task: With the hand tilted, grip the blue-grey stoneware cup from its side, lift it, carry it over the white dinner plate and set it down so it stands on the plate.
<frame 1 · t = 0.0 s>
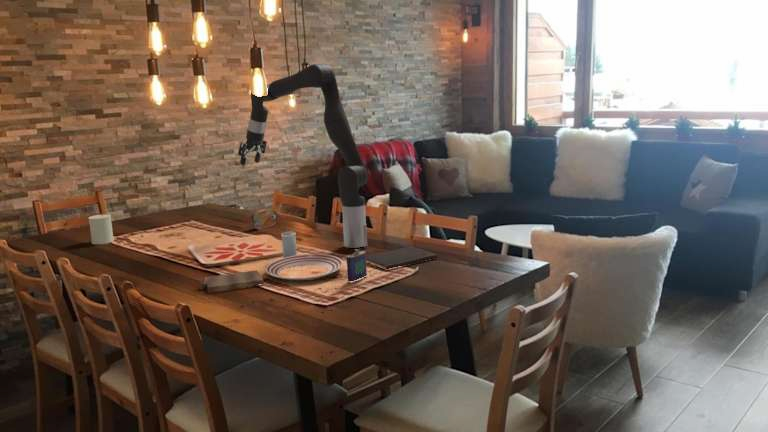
hand: (249, 163, 289), 31 cm above the table, tool tilted 20°, fingers open, 8 cm apart
can: (103, 242, 288), on the table
dinner plate: (305, 273, 231), on the table
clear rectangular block: (264, 228, 304), on the table
stoneware cup: (290, 258, 250), on the table
hardcover book: (399, 262, 242), on the table
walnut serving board: (233, 284, 221), on the table
flask: (357, 280, 221), on the table
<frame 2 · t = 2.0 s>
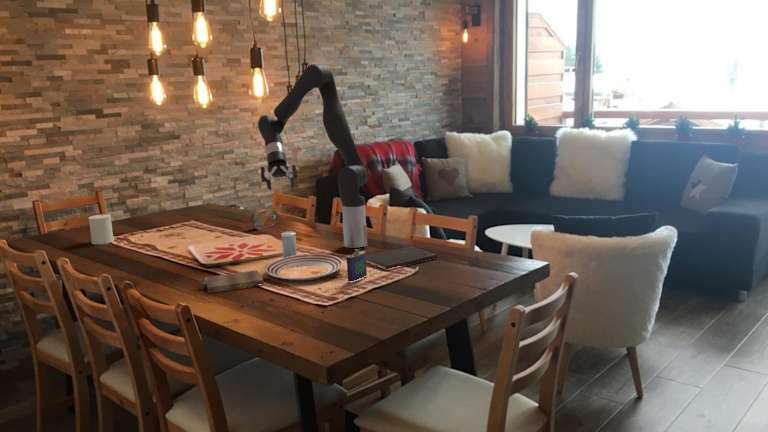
hand: (281, 188, 255), 26 cm above the table, tool tilted 45°, fingers open, 8 cm apart
nothing on the table moved.
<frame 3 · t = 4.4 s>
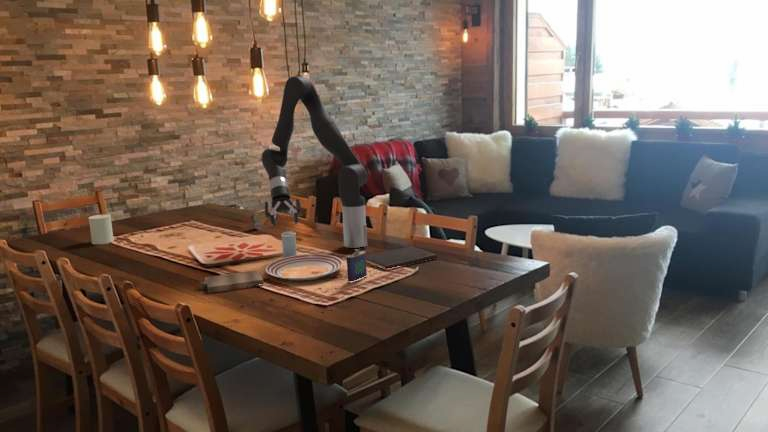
hand: (285, 223, 255), 12 cm above the table, tool tilted 45°, fingers open, 8 cm apart
nothing on the table moved.
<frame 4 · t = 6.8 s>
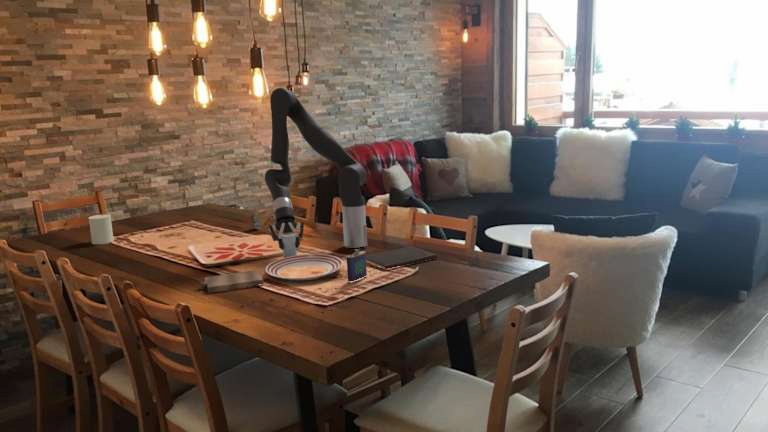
hand: (290, 247, 247), 5 cm above the table, tool tilted 45°, fingers closed on stoneware cup, 5 cm apart
stoneware cup: (290, 258, 250), on the table, touching gripper
everything else where it was.
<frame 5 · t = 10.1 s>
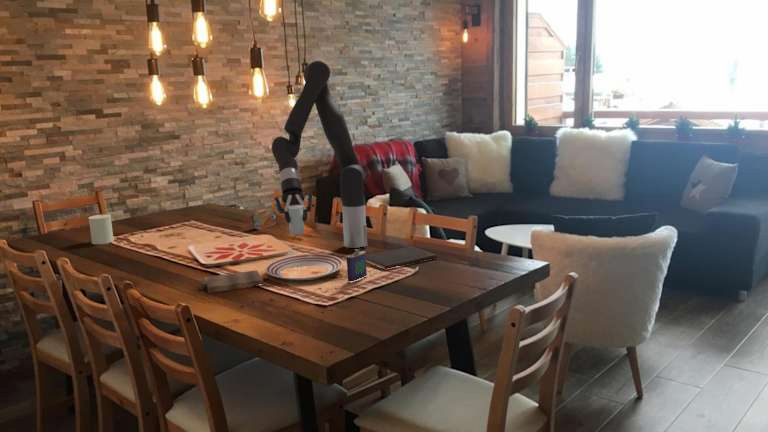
hand: (297, 221, 230), 18 cm above the table, tool tilted 45°, fingers closed on stoneware cup, 5 cm apart
stoneware cup: (297, 232, 233), point 13 cm above the table, touching gripper
everything else where it was.
when the fingers open (8 cm above the table, at t = 13.4 s): stoneware cup stays where it is, resting on dinner plate.
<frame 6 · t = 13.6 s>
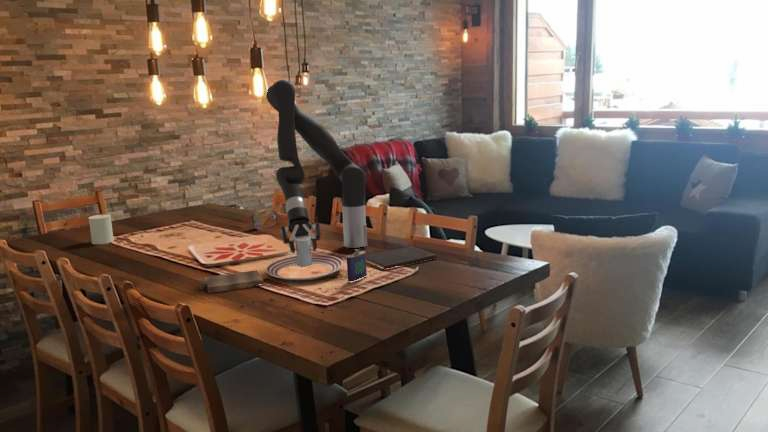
hand: (304, 250, 228), 8 cm above the table, tool tilted 45°, fingers open, 6 cm apart
dinner plate: (305, 274, 231), on the table, touching stoneware cup
stoneware cup: (304, 264, 230), point 3 cm above the table, touching dinner plate
everything else where it was.
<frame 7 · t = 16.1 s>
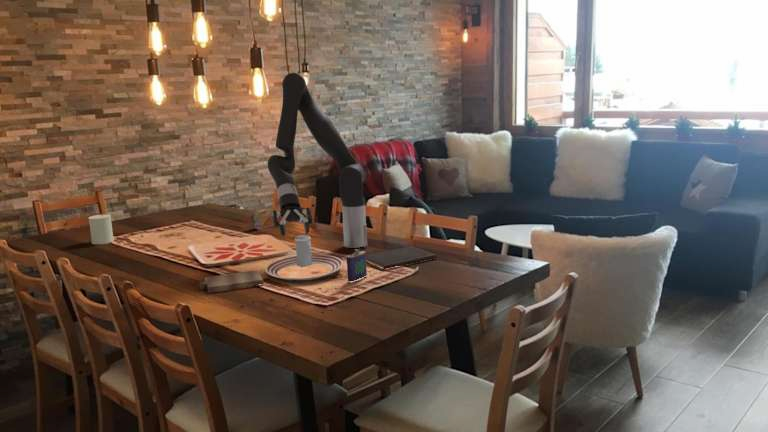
hand: (295, 233, 237), 12 cm above the table, tool tilted 45°, fingers open, 8 cm apart
nothing on the table moved.
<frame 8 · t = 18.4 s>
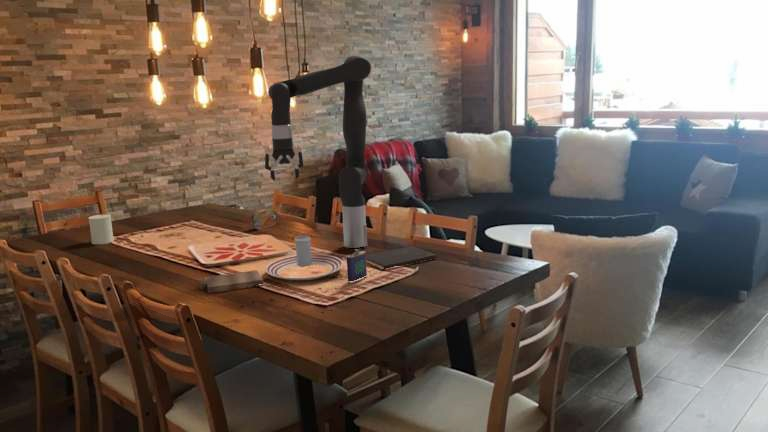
hand: (285, 179, 247), 30 cm above the table, tool pointing down, fingers open, 8 cm apart
nothing on the table moved.
at the end: stoneware cup 0.0 cm from the dinner plate (horizontally); stoneware cup point 3.1 cm above the table; the gripper is holding nothing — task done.
